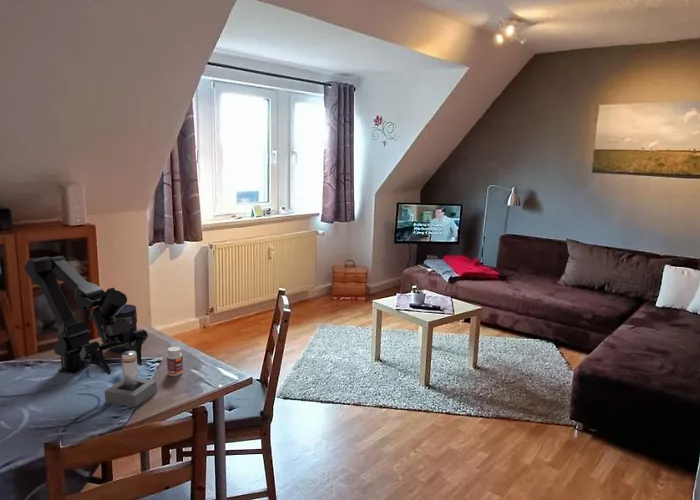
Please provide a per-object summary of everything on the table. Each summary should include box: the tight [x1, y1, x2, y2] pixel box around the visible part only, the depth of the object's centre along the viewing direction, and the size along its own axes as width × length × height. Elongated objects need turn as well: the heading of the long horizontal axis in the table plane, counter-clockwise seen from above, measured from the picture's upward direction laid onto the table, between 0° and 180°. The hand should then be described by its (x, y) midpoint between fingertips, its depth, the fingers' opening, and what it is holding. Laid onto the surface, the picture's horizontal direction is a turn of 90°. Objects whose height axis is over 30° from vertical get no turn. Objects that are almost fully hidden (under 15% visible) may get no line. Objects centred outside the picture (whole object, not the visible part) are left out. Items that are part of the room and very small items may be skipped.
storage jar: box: [109, 303, 138, 354], centre depth 190 cm, size 10×10×15 cm
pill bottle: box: [166, 346, 184, 377], centre depth 171 cm, size 5×5×8 cm
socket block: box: [104, 377, 158, 408], centre depth 155 cm, size 10×10×4 cm
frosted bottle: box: [120, 351, 139, 391], centre depth 154 cm, size 4×4×13 cm
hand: (125, 369), depth 156 cm, fingers open, 9 cm apart
